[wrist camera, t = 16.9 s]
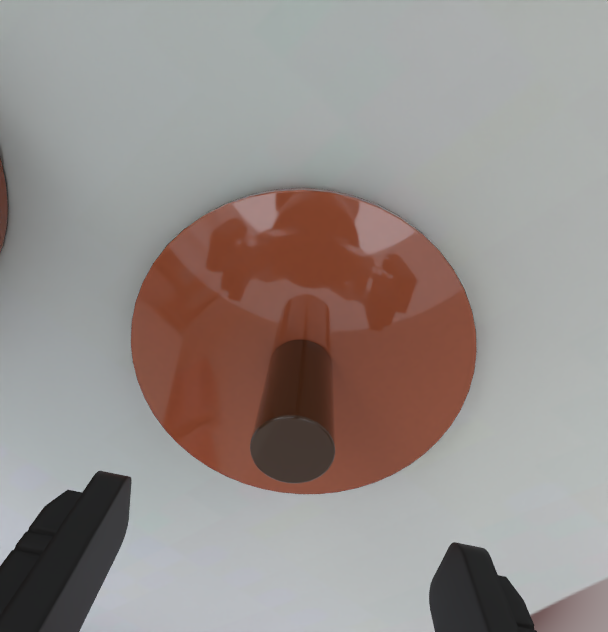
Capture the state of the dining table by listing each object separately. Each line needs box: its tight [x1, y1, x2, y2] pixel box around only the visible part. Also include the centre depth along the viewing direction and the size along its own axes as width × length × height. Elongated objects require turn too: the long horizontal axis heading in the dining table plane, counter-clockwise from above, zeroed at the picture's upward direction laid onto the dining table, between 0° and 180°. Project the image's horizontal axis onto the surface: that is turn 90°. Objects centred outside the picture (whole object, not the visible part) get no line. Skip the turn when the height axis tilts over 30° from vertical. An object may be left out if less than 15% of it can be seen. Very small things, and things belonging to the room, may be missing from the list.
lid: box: [131, 188, 477, 494], centre depth 16 cm, size 14×14×6 cm
